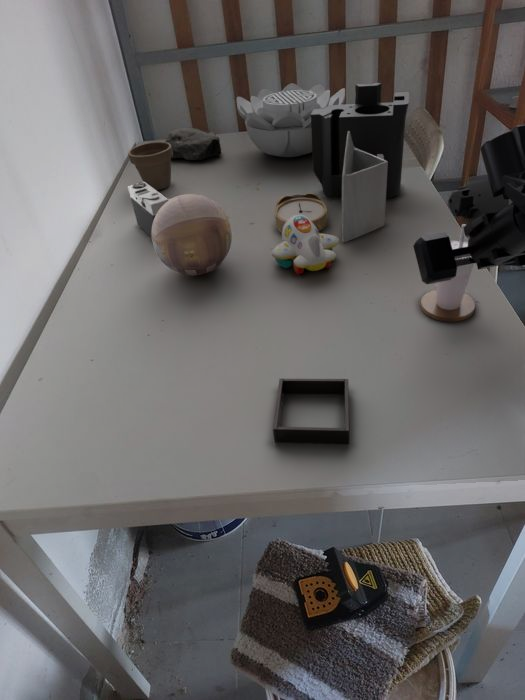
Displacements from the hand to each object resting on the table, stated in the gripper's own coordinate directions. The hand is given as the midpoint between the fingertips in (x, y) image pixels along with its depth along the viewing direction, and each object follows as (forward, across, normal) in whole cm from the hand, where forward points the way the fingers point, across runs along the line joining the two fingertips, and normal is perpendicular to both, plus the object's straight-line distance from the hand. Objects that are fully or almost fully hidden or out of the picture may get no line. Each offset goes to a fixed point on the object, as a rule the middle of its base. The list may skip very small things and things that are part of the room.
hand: (458, 266), depth 79 cm
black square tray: (-5, +28, +17) cm, 33 cm away
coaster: (+7, 0, +5) cm, 8 cm away
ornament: (+26, +38, -14) cm, 49 cm away
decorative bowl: (+67, +4, -56) cm, 87 cm away
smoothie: (+6, 0, +5) cm, 8 cm away
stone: (+74, +33, -63) cm, 102 cm away
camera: (+41, +44, -29) cm, 67 cm away
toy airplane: (+23, +18, -11) cm, 31 cm away
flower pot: (+61, +44, -49) cm, 90 cm away
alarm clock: (+35, +14, -24) cm, 45 cm away
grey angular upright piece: (+30, +2, -19) cm, 36 cm away
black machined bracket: (+43, -3, -32) cm, 54 cm away
